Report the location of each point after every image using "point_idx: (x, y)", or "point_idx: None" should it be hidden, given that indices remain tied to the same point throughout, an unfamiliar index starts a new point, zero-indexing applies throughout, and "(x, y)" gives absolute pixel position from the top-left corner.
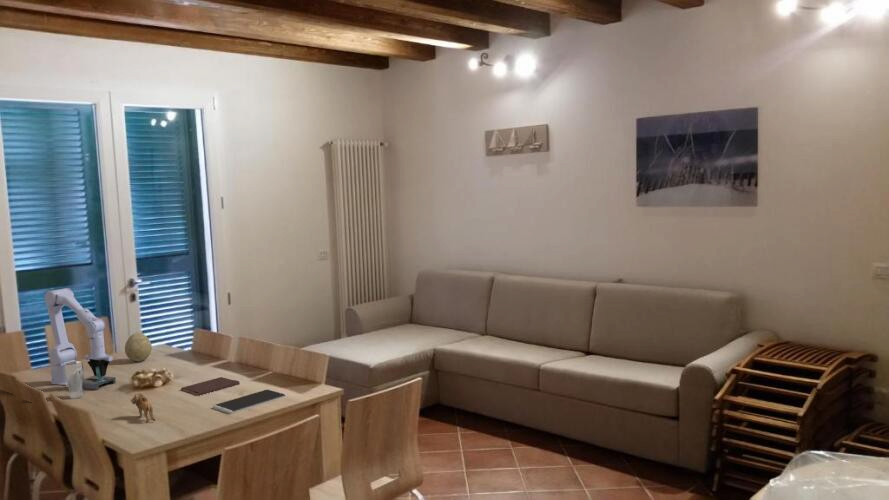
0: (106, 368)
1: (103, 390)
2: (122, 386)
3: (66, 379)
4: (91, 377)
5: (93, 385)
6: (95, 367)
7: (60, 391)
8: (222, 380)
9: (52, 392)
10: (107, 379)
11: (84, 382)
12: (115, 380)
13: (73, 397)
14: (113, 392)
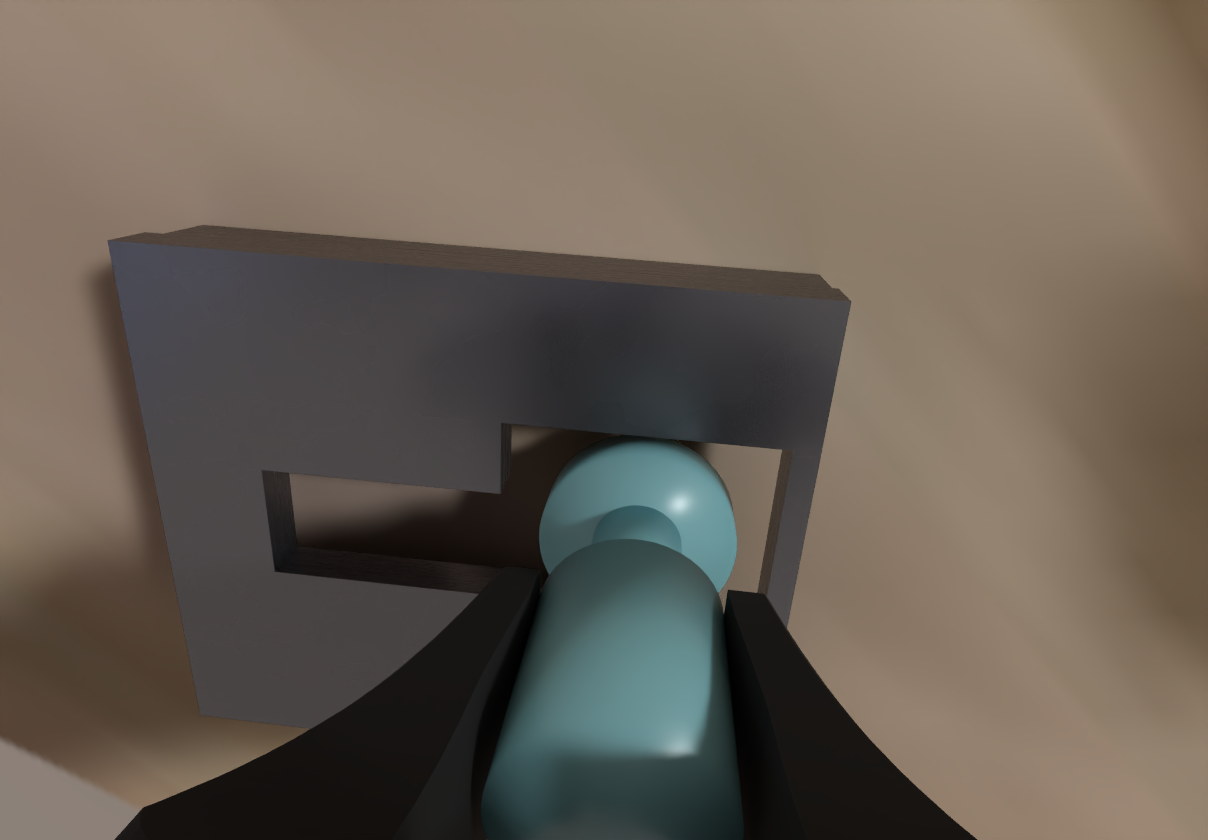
0: (846, 732)
1: (883, 691)
2: (1135, 461)
3: None
4: (225, 401)
5: None
6: (468, 835)
7: (204, 765)
8: None
9: (139, 803)
10: (718, 437)
11: None
12: (829, 287)
13: None
14: (1152, 764)
